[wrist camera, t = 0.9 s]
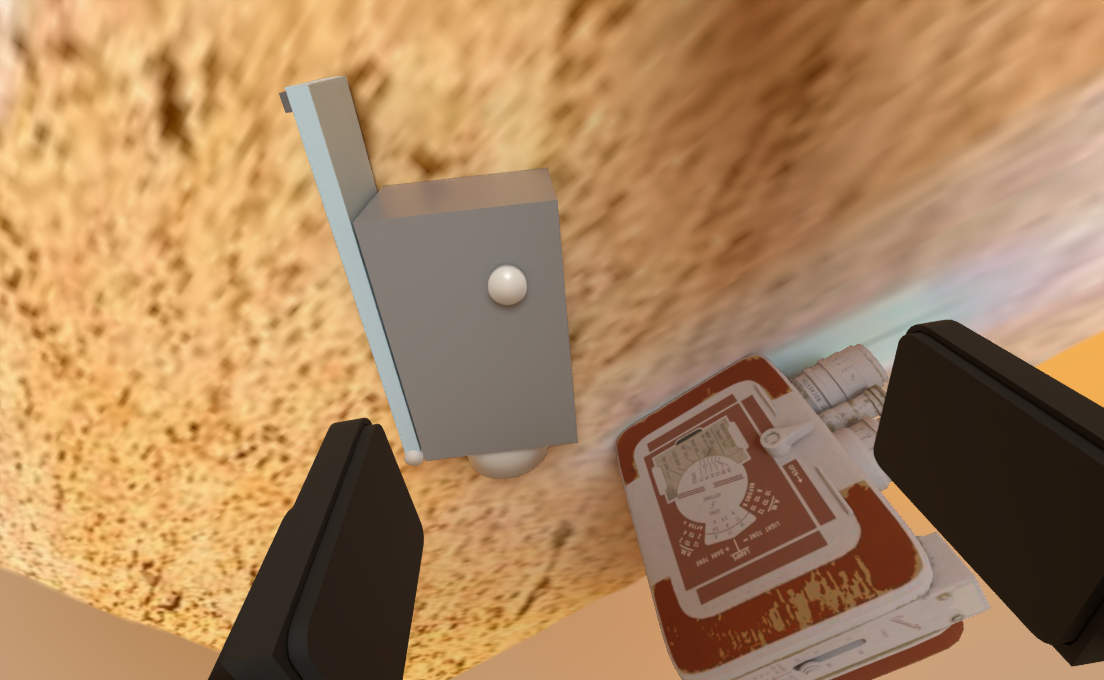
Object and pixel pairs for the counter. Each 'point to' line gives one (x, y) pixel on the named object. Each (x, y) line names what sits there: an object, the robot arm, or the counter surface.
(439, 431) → the block
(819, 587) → the cine camera
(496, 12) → the counter surface
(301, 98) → the side door
